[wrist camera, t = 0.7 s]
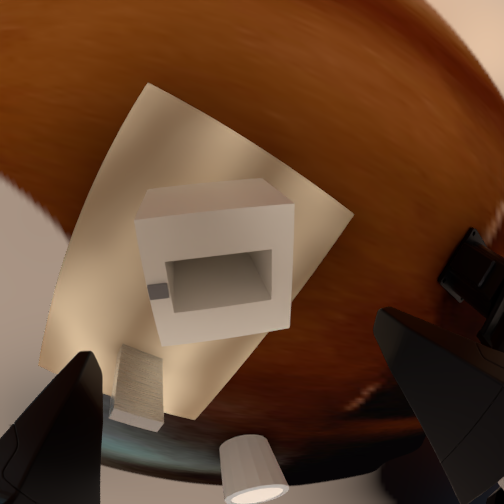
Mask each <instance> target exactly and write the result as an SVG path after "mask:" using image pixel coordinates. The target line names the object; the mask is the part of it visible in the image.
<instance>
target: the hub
mask: <svg viewBox="0 0 504 504" xmlns="http://www.w3.org/2000/svg"><path fill="white" fill-rule="evenodd" d="M294 210H295V203H293V202H292V201H291V200H290V199H288V198H287V197H286V196H284V195H283V194H282V193H281V192H279V191H278V190H277V189H275V188H274V187H273V186H272V185H270V184H269V183H268V182H266V181H265V180H264V179H262V178H256V179H242V180H229V181H218V182H207V183H197V184H187V185H178V186H170V187H161V188H153V189H148V190H147V192H146V194H145V196H144V198H143V201H142V203H141V205H140V207H139V210H138V212H137V214H136V216H135V219H134V224H135V230H136V236H137V241H138V247H139V252H140V257H141V262H142V267H143V272H144V277H145V281H146V286H147V290H148V295H149V299H150V303H151V307H152V311H153V316H154V319H155V323H156V327H157V331H158V335H159V338H160V342H161V346H162V347H163V346H172V345H181V344H189V343H197V342H205V341H212V340H220V339H227V338H233V337H240V336H246V335H252V334H258V333H264V332H270V331H276V330H281V329H286V328H290V313H291V294H292V272H293V246H294Z"/></svg>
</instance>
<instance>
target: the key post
mask: <svg viewBox="0 0 504 504" xmlns="http://www.w3.org/2000/svg"><path fill="white" fill-rule="evenodd" d="M109 418H110V419H113V420H116V421H119V422H122V423H126V424H129V425H132V426H136V427H139V428H143V429H147V430H151V431H155V432H157V431H158V430H159V429H160V427H161V426H162V425H163V424H164V411H163V359H162V358H159V357H157V356H154V355H151V354H148V353H146V352H143V351H140V350H138V349H135V348H132V347H130V346H127V345H125V344H122V346H121V348H120V350H119V352H118V354H117V360H116V366H115V373H114V379H113V387H112V394H111V402H110V411H109Z"/></svg>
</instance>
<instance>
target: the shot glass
mask: <svg viewBox="0 0 504 504" xmlns="http://www.w3.org/2000/svg"><path fill="white" fill-rule="evenodd" d="M219 452H220V463H221V473H222V483H223V493H224V501H225V502H226V503H227V504H258V503H262V502H267V501H269V500H273V499H275V498H278V497H280V496H281V495H284V494H285V493H286V492H287V491H288V490H289V486H288V484H287V482H286V479H285V477H284V475H283V473H282V471H281V469H280V467H279V465H278V463H277V460H276V458H275V456H274V454H273V452H272V450H271V447H270V445H269V443H268V441H267V439H266V438H265V437H263V436H260V435H242V436H237V437H234V438H232V439H229V440H227V441H225V442H224V443H223V444H221V446H220V448H219Z"/></svg>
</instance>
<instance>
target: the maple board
mask: <svg viewBox="0 0 504 504" xmlns="http://www.w3.org/2000/svg"><path fill="white" fill-rule="evenodd" d="M256 178H262V179H264V180H265V181H266V182H268V183H269V184H270V185H272V186H273V187H274V188H275V189H277V190H278V191H279V192H281V193H282V194H283V195H284V196H286V197H287V198H288V199H290V200H291V201H292V202H293V203H295V210H294V246H293V272H292V294H291V302H292V301H293V299H294V298H295V297H296V295H297V294H298V293H299V291H300V290H301V289H302V287H303V286H304V285H305V283H306V282H307V281H308V279H309V278H310V276H311V275H312V274H313V272H314V271H315V270H316V268H317V267H318V265H319V264H320V263H321V261H322V260H323V259H324V257H325V256H326V254H327V253H328V252H329V250H330V249H331V247H332V246H333V244H334V243H335V242H336V240H337V239H338V237H339V236H340V234H341V233H342V232H343V230H344V229H345V227H346V226H347V224H348V223H349V221H350V220H351V218H352V217H353V215H354V214H353V213H352V212H351V211H349V210H348V209H347V208H346V207H344V206H343V205H342V204H340V203H339V202H338V201H336V200H335V199H334V198H332V197H331V196H329V195H328V194H327V193H325V192H324V191H323V190H321V189H320V188H319V187H317V186H316V185H314V184H313V183H312V182H310V181H309V180H307V179H306V178H305V177H303V176H302V175H300V174H299V173H297V172H296V171H294V170H293V169H292V168H290V167H289V166H287V165H286V164H284V163H283V162H281V161H280V160H278V159H277V158H275V157H274V156H272V155H271V154H269V153H268V152H266V151H265V150H263V149H262V148H260V147H259V146H257V145H255V144H254V143H252V142H251V141H249V140H248V139H246V138H244V137H243V136H241V135H240V134H238V133H236V132H235V131H233V130H232V129H230V128H228V127H227V126H225V125H223V124H222V123H220V122H218V121H217V120H215V119H213V118H212V117H210V116H208V115H206V114H205V113H203V112H201V111H199V110H198V109H196V108H194V107H192V106H191V105H189V104H187V103H185V102H184V101H182V100H180V99H178V98H176V97H174V96H173V95H171V94H169V93H167V92H165V91H163V90H161V89H159V88H158V87H156V86H154V85H152V84H150V83H147V85H146V86H145V88H144V89H143V91H142V93H141V94H140V96H139V97H138V99H137V101H136V102H135V104H134V106H133V107H132V109H131V111H130V113H129V114H128V116H127V118H126V119H125V121H124V123H123V125H122V127H121V128H120V130H119V132H118V134H117V136H116V138H115V140H114V141H113V143H112V145H111V147H110V149H109V151H108V153H107V155H106V157H105V159H104V161H103V163H102V165H101V167H100V170H99V172H98V174H97V176H96V178H95V180H94V183H93V185H92V187H91V189H90V192H89V194H88V196H87V199H86V201H85V203H84V206H83V208H82V211H81V213H80V216H79V218H78V221H77V224H76V226H75V229H74V232H73V234H72V237H71V240H70V243H69V246H68V249H67V251H66V254H65V257H64V260H63V264H62V267H61V270H60V273H59V277H58V280H57V283H56V287H55V291H54V294H53V298H52V302H51V306H50V310H49V314H48V318H47V323H46V327H45V332H44V336H43V341H42V346H41V352H40V358H39V365H38V366H40V367H42V368H44V369H47V370H49V371H51V372H53V373H55V374H58V373H59V372H60V371H61V370H62V369H63V368H64V367H65V366H66V365H67V364H68V363H69V362H70V361H71V360H72V359H73V357H74V356H75V355H76V354H77V353H78V352H80V351H92V352H93V353H94V355H95V357H96V359H97V361H98V364H99V366H100V368H101V370H102V375H103V393H104V394H107V395H110V396H111V394H112V387H113V379H114V373H115V366H116V360H117V354H118V352H119V350H120V348H121V346H122V344H125V345H127V346H130V347H132V348H135V349H138V350H140V351H143V352H146V353H148V354H151V355H154V356H157V357H159V358H162V359H163V411H164V412H165V413H168V414H172V415H176V416H180V417H184V418H188V419H193V420H195V419H196V418H197V417H198V416H199V415H200V413H201V412H202V411H203V410H204V409H205V408H206V407H207V405H208V404H209V403H210V402H211V401H212V400H213V399H214V397H215V396H216V395H217V394H218V393H219V392H220V390H221V389H222V388H223V387H224V386H225V384H226V383H227V382H228V381H229V380H230V379H231V377H232V376H233V375H234V374H235V373H236V371H237V370H238V369H239V368H240V366H241V365H242V364H243V363H244V362H245V360H246V359H247V358H248V357H249V355H250V354H251V353H252V352H253V351H254V349H255V348H256V347H257V346H258V344H259V343H260V342H261V341H262V339H263V338H264V337H265V336H266V334H267V333H268V332H264V333H258V334H252V335H246V336H240V337H233V338H227V339H220V340H212V341H205V342H197V343H189V344H181V345H172V346H163V347H162V346H161V342H160V338H159V335H158V331H157V327H156V323H155V319H154V316H153V311H152V307H151V303H150V299H149V295H148V290H147V286H146V281H145V277H144V272H143V267H142V262H141V257H140V252H139V247H138V241H137V236H136V230H135V224H134V219H135V216H136V214H137V212H138V210H139V207H140V205H141V203H142V201H143V198H144V196H145V194H146V192H147V190H148V189H153V188H161V187H170V186H178V185H187V184H197V183H207V182H218V181H229V180H242V179H256Z"/></svg>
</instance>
